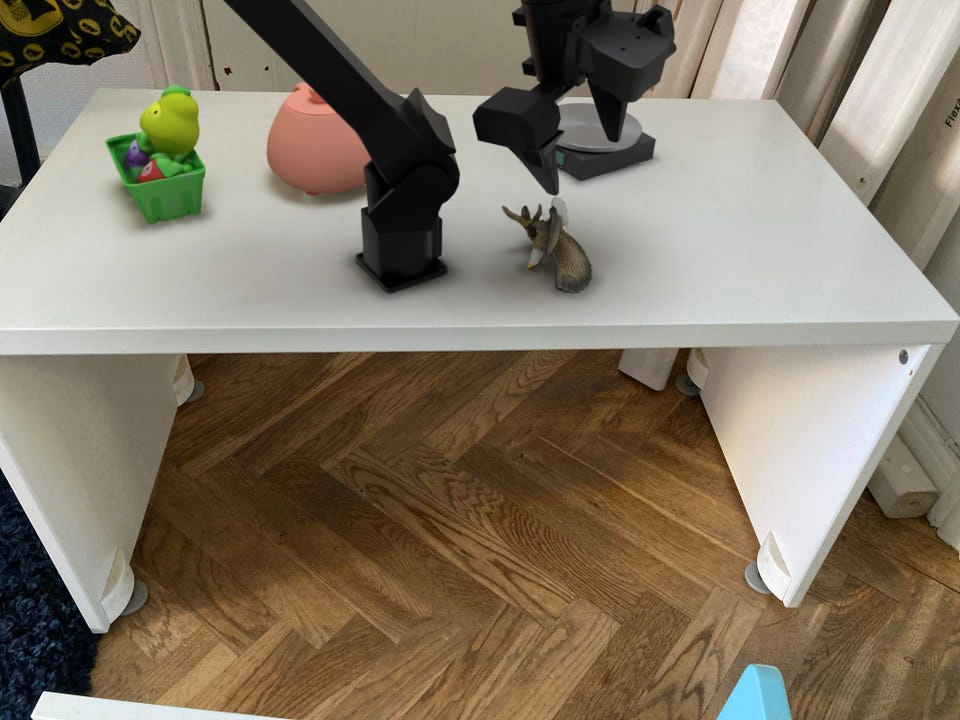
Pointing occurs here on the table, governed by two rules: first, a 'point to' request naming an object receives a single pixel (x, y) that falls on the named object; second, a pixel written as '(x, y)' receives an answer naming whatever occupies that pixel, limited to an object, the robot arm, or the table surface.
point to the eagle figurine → (555, 245)
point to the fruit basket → (163, 158)
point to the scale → (603, 158)
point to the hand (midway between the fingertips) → (584, 167)
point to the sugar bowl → (314, 146)
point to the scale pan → (593, 129)
